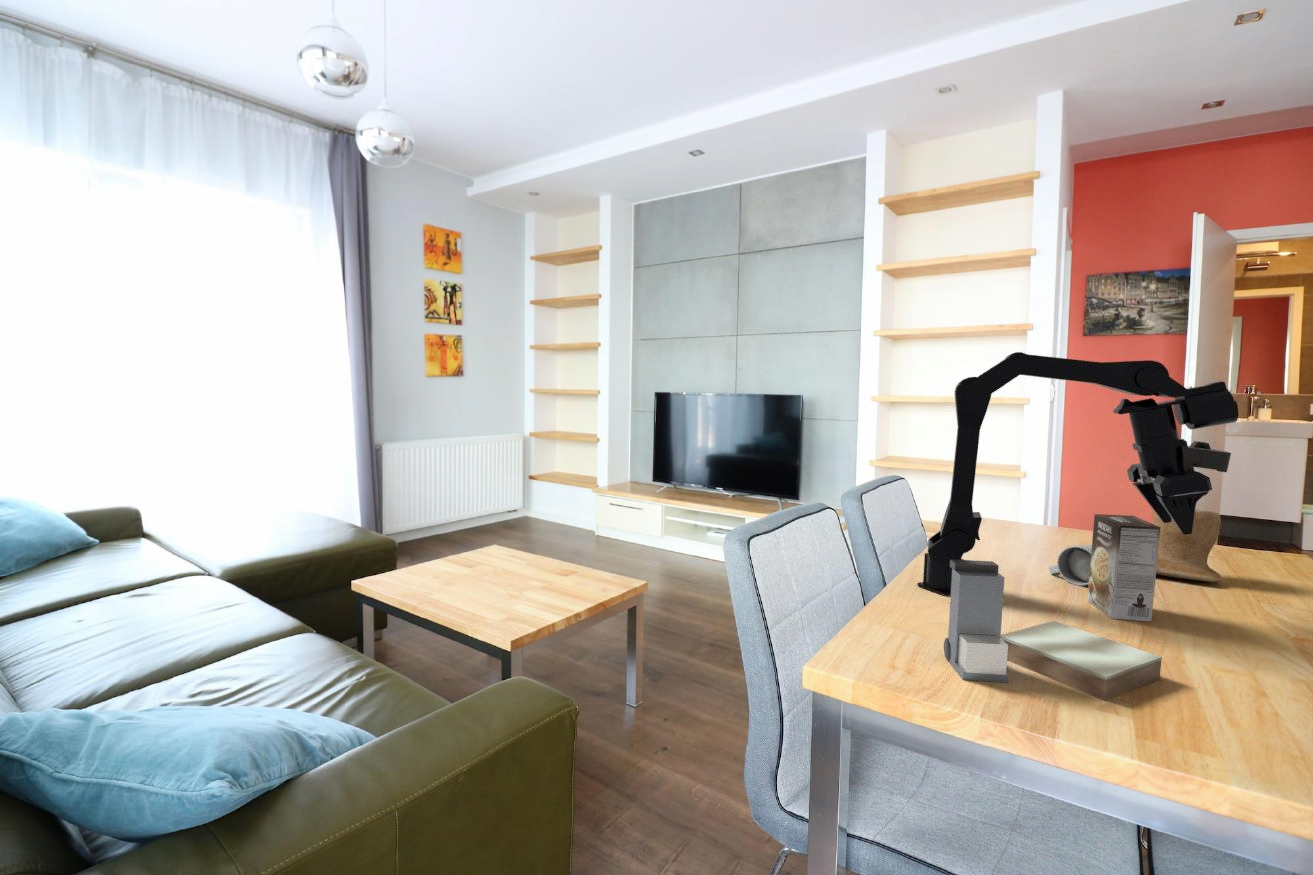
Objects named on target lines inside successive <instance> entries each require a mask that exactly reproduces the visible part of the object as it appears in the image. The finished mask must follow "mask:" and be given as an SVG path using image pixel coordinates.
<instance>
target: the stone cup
mask: <svg viewBox="0 0 1313 875" xmlns="http://www.w3.org/2000/svg"><path fill="white" fill-rule="evenodd" d="M1221 522H1222V520H1221V516H1220V515H1219V513H1217V512H1215V511H1212V510H1207V509H1201V508H1196V507H1195V514H1194V522H1193V530H1192V534H1188V535H1184V534H1182V532H1181V531H1180V529H1179V528H1178V527H1177V525H1176V524H1175V522H1174V521H1173V519H1172V521H1171V522H1170V523H1164V522H1162V520H1161V519H1160V518H1159V516H1158V515H1157V514H1156V513H1155V512H1154V514H1153V523H1152V524H1154V525H1156V526H1158V527H1161V529H1160V539H1159V549H1158V559H1157V569H1156V576H1161V577H1162V576H1163V577H1168V578H1169V577H1170V578H1174V579H1183V580H1190V581H1191V580H1192V581H1200V582H1201V581H1203V582H1214V583H1215V582H1219V581H1220V580H1221V579H1222V576H1221V574H1220V573H1219V572H1217V571H1215V570H1214V569H1213V568H1211V567H1210V566H1209V564H1208V560H1209V559H1208V558H1209V555H1210V552H1211V551H1212V549H1213V548H1214V546H1215V544H1216V542H1217V540H1218V538H1219V536H1220V529H1221Z"/></svg>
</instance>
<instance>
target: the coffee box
mask: <svg viewBox="0 0 1313 875" xmlns="http://www.w3.org/2000/svg"><path fill="white" fill-rule="evenodd" d="M1093 516H1094V517H1093V529H1092V543H1091V545H1092V552H1091V563H1090V576H1089V585H1088V588H1087V589H1088V590H1087V591H1088V592H1087V601H1088V602H1089V603H1090V604H1092V606H1094V607H1096V608H1097V609H1098V610H1099V611H1101V612H1102V613H1104V614H1105V615H1106V616H1107V617H1109V618H1110V619H1112V620H1113V619H1114V620H1125V621H1137V622H1138V621H1139V622H1152V621H1153V620H1152V619H1153V609H1154V600H1155V599H1154V598H1155V589H1156V588H1155V587H1156V576H1157V575H1156V569H1157V559H1158V549H1159V539H1160V529H1161V527H1158V526H1156V525H1154V523H1151V522H1149V521H1146V520H1145V519H1142V518H1139V517H1137V516H1135V515H1128V514H1127V515H1125V514H1123V515H1122V514H1102V513H1100V514H1099V513H1098V514H1097V513H1095V514H1094V515H1093Z"/></svg>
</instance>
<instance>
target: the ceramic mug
mask: <svg viewBox="0 0 1313 875" xmlns="http://www.w3.org/2000/svg"><path fill="white" fill-rule="evenodd" d="M1091 552H1092V544H1083V545H1082V544H1081V545H1079V544H1078V545H1077V544H1076V545H1070V546H1067V547H1065V548H1064V549H1062V550H1061V551H1060V553H1059V554H1058V556H1057V560H1056V563H1057V564H1053V565H1050V566H1048V570H1049V573H1050V574H1051V575H1055V574H1060V575H1061V577H1062V578H1063V579H1064V580H1065V581H1067V582H1068V583H1070V584H1072V585H1074V586H1075V585H1076V586H1078V587H1079V586H1080V587H1083V586H1089V576H1090V563H1091Z"/></svg>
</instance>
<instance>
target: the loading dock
mask: <svg viewBox="0 0 1313 875" xmlns="http://www.w3.org/2000/svg"><path fill="white" fill-rule="evenodd" d="M1000 638H1001V639H1002V640H1003V641H1004V642H1005V643H1006V644H1008V653H1007V661H1010V662H1011V663H1014V664H1016V665H1019V666H1021V667H1024V668H1026V669H1027V670H1031V671H1033V672H1036V673H1038V674H1041V675H1042V676H1045V677H1048V678H1049V679H1052V680H1055V681H1057V682H1060V683H1062V684H1065V685H1066V686H1069V687H1071V688H1074V689H1077V690H1078V691H1081V692H1083V693H1086V694H1088V695H1091V696H1093V697H1096V698H1098V699H1101V700H1103V701H1108V700H1109V699H1113V698H1115V697H1117V696H1119V695H1122V694H1125V693H1127V692H1130V691H1132V690H1133V691H1134V690H1135V689H1138V688H1140V687H1143V686H1145V685H1147V684H1150V683H1153V682H1156V681H1158V680H1160V679H1161V671H1162V670H1161V669H1162V668H1161V667H1162V660H1163V659H1162V656H1159V655H1156V654H1154V653H1151V652H1149V651H1145V650H1142V649H1139V648H1135V647H1133V646H1130V645H1128V644H1123V643H1121V642H1118V641H1115V640H1113V639H1110V638H1106V637H1103V636H1100V635H1097V634H1094V633H1092V632H1088V631H1086V630H1082V629H1080V628H1076V627H1073V626H1070V625H1068V624H1064V623H1061V622H1058V621H1056V620H1050V621H1047V622H1044V623H1041V624H1037V625H1033V626H1029V627H1028V626H1027V627H1024V628H1020V629H1018V630H1015V631H1010V632H1006V633H1001V637H1000Z"/></svg>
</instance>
